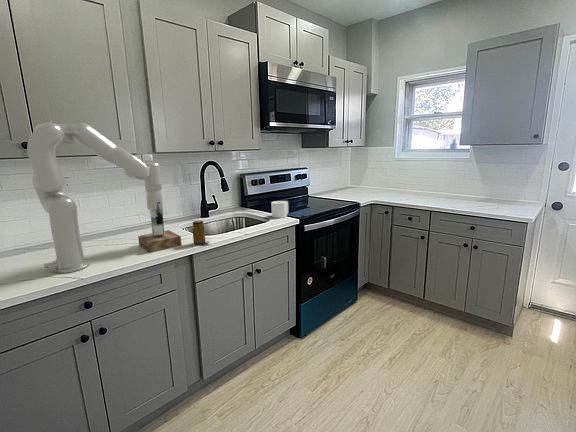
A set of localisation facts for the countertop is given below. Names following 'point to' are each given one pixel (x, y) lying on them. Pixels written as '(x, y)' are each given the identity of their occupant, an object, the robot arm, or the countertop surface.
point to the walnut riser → (159, 241)
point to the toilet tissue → (279, 209)
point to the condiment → (199, 234)
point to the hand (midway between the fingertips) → (157, 222)
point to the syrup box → (156, 225)
